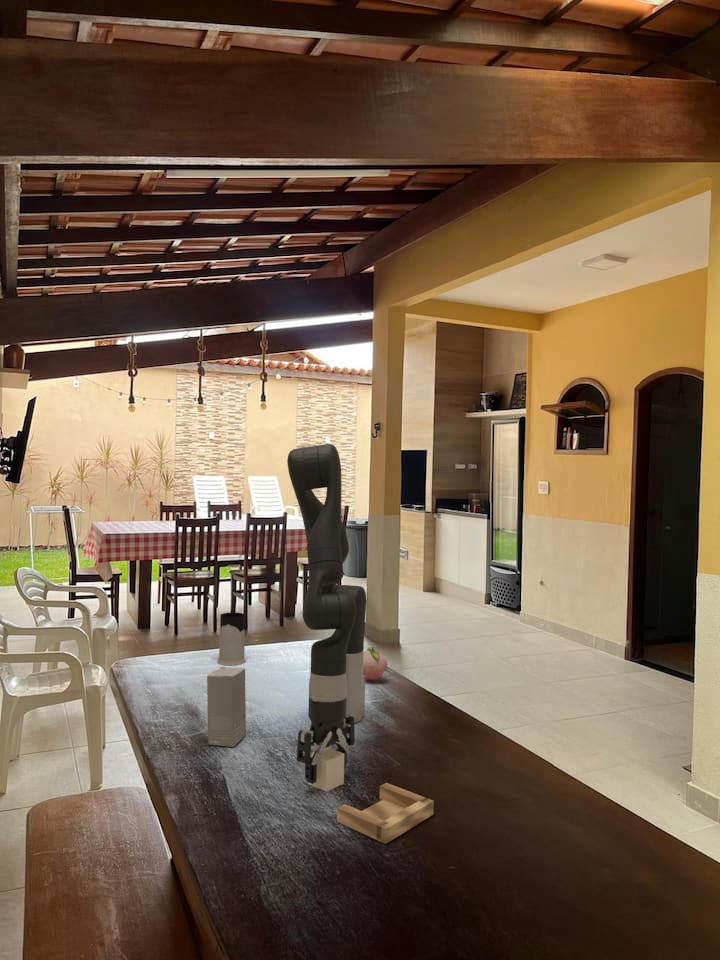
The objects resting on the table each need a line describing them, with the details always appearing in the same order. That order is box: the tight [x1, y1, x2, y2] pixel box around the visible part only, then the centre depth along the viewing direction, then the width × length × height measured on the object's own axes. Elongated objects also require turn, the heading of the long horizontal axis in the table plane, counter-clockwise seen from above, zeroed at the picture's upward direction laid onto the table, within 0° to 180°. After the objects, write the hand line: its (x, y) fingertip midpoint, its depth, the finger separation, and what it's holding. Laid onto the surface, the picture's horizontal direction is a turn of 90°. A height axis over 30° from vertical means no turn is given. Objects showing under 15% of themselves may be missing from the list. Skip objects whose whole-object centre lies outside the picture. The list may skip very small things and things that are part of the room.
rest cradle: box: [336, 782, 435, 845], centre depth 130 cm, size 14×11×2 cm
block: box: [307, 747, 345, 792], centre depth 144 cm, size 5×5×6 cm
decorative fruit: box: [363, 646, 388, 682], centre depth 213 cm, size 9×8×10 cm
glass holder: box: [217, 612, 246, 667], centre depth 232 cm, size 9×14×15 cm, turn 170°
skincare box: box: [206, 666, 247, 748], centre depth 165 cm, size 8×7×16 cm
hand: (326, 775), depth 144 cm, fingers open, 8 cm apart
